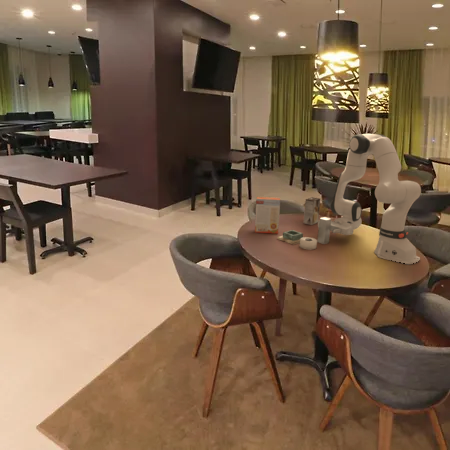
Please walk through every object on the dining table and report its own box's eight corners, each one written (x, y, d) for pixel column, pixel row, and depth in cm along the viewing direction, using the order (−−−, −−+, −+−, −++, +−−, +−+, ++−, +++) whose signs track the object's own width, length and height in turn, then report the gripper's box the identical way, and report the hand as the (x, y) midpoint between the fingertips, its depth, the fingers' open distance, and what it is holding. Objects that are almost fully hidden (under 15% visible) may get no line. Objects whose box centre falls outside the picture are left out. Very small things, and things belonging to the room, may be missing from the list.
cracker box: (277, 231, 257) (280, 197, 251) (278, 234, 251) (280, 199, 245) (254, 229, 258) (256, 196, 252) (254, 232, 252) (256, 198, 246)
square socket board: (307, 240, 241) (308, 233, 240) (293, 244, 233) (293, 237, 232) (291, 235, 250) (292, 228, 248) (277, 238, 242) (278, 231, 241)
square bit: (328, 242, 239) (331, 218, 235) (323, 244, 236) (326, 220, 232) (322, 240, 242) (324, 217, 238) (317, 242, 239) (319, 218, 235)
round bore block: (319, 247, 230) (320, 240, 229) (309, 250, 225) (309, 243, 224) (306, 243, 237) (307, 236, 236) (296, 246, 231) (296, 238, 230)
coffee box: (309, 220, 282) (311, 196, 278) (318, 222, 279) (320, 198, 274) (303, 223, 275) (305, 199, 271) (312, 225, 272) (314, 200, 267)
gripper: (326, 216, 253) (311, 219, 244) (356, 224, 238) (341, 228, 229) (325, 226, 255) (310, 230, 246) (355, 235, 240) (340, 239, 231)
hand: (326, 229), depth 238 cm, fingers open, 8 cm apart
